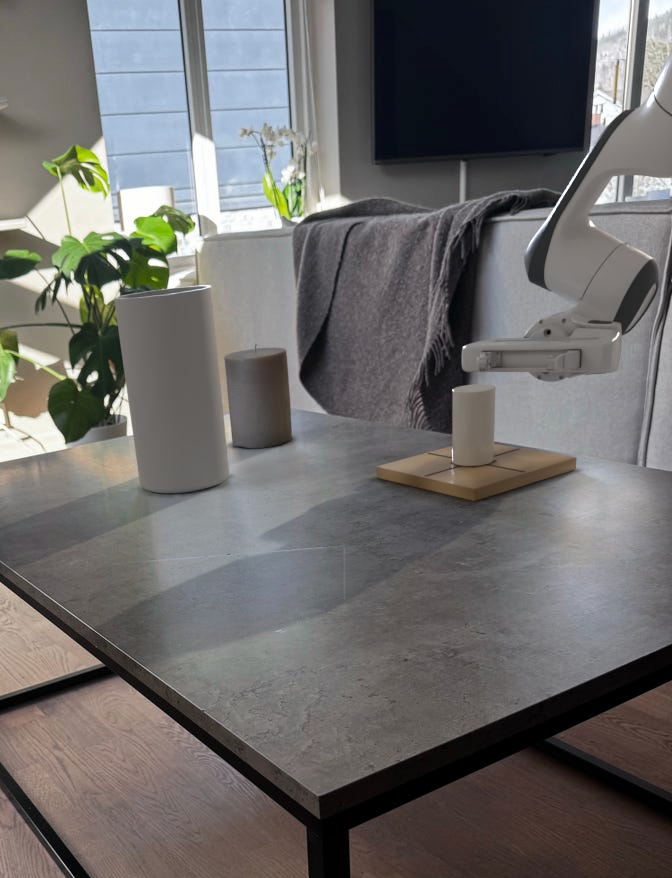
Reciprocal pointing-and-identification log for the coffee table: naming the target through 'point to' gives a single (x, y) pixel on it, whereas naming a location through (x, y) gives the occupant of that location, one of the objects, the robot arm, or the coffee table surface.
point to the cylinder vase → (173, 388)
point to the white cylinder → (473, 424)
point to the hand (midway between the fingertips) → (515, 365)
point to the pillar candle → (258, 397)
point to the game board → (476, 471)
